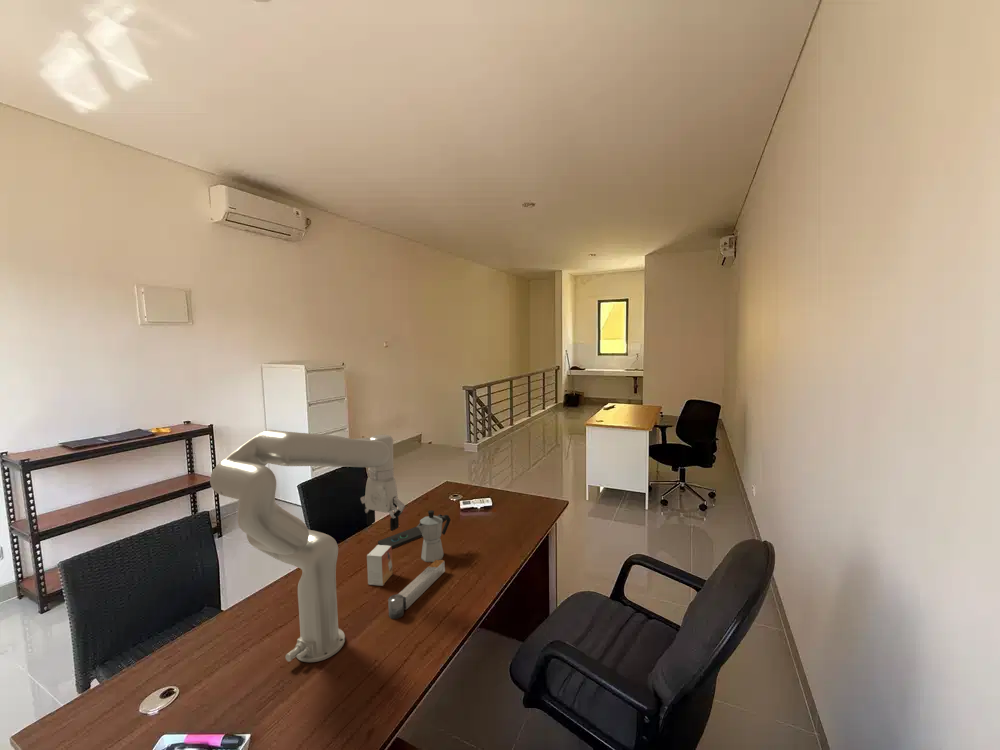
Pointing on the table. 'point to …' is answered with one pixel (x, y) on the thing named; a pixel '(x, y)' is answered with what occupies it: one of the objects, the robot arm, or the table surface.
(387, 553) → the small box
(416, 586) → the tongs loose arm
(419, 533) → the smart home device
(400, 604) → the tongs hinge and fixed arm
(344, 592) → the table surface
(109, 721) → the table surface
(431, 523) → the coffee maker
